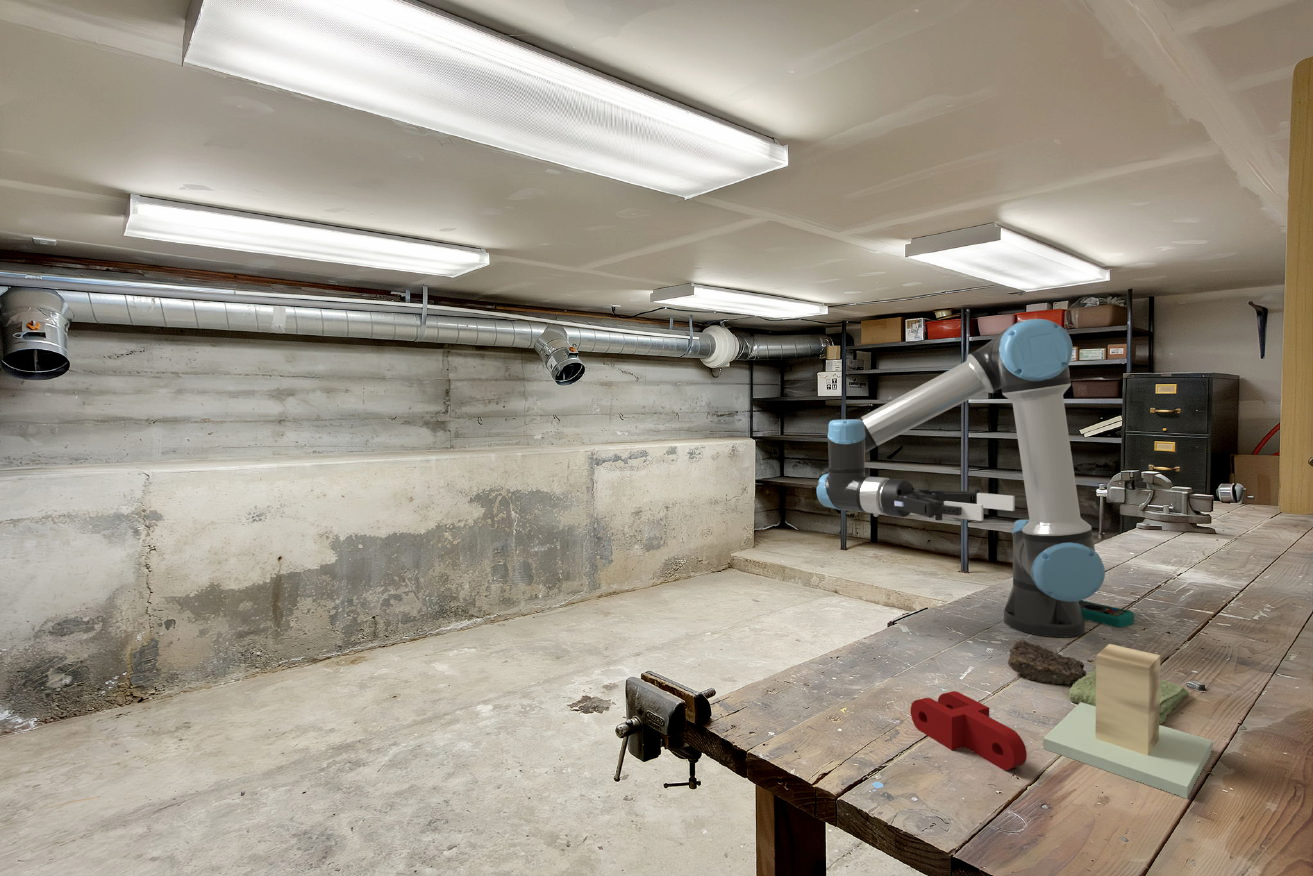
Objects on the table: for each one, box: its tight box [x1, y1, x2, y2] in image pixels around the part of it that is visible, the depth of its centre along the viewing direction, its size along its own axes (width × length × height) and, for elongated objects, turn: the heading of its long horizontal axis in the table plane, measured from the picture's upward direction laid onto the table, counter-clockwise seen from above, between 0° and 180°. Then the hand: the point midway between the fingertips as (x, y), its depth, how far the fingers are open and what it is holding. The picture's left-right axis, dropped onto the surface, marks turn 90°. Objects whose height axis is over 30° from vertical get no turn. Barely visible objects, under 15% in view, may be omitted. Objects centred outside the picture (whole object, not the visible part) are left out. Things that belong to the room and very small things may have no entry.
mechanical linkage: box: [910, 690, 1028, 771], centre depth 93 cm, size 16×7×5 cm, turn 22°
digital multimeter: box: [1078, 599, 1135, 629], centre depth 146 cm, size 7×15×3 cm, turn 33°
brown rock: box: [1007, 639, 1087, 685], centre depth 115 cm, size 12×10×5 cm
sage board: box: [1042, 702, 1214, 800], centre depth 91 cm, size 16×16×2 cm
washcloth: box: [1067, 666, 1190, 725], centre depth 106 cm, size 13×18×3 cm
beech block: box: [1095, 643, 1161, 755], centre depth 91 cm, size 6×6×12 cm
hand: (998, 508), depth 116 cm, fingers open, 13 cm apart
